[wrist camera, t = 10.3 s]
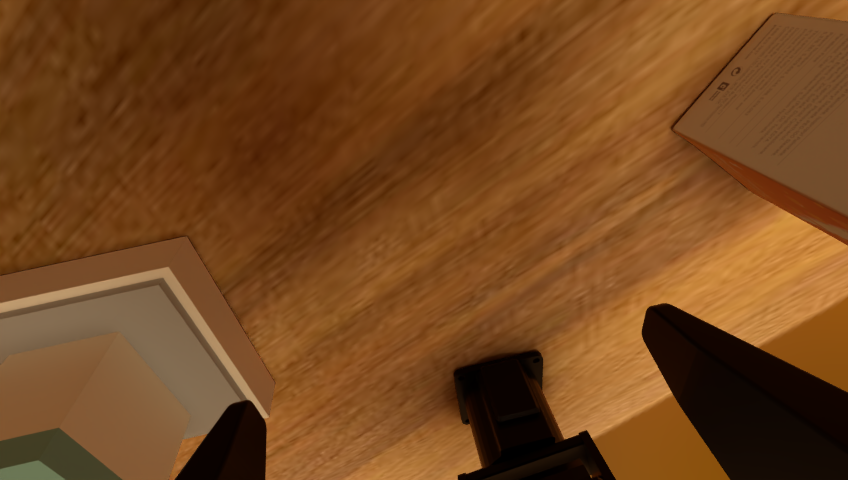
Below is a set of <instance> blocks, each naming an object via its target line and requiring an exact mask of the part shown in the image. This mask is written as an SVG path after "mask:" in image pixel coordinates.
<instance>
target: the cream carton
mask: <svg viewBox="0 0 848 480" xmlns="http://www.w3.org/2000/svg"><path fill="white" fill-rule="evenodd" d="M190 417H191V415H190V414H189V413H188V412H187V410H186V409H185V408H184V407H183V406H182V404H181V403H180V402H179V401H178V400H177V399H176V397H175V396H174V395H173V394H172V393H171V392H170V390H169V389H168V388H167V387H166V386H165V385H164V383H163V382H162V381H161V380H160V379H159V377H158V376H157V375H156V374H155V373H154V372H153V370H152V369H151V368H150V367H149V366H148V365H147V363H146V362H145V361H144V360H143V359H142V357H141V356H140V355H139V354H138V353H137V352H136V350H135V349H134V348H133V347H132V346H131V345H130V343H129V342H128V341H127V340H126V339H125V337H124V336H123V335H122V334H121V333H120V332H114V333H109V334H105V335H100V336H96V337H91V338H86V339H82V340H77V341H73V342H68V343H63V344H59V345H54V346H49V347H45V348H40V349H36V350H31V351H26V352H22V353H17V354H13V355H9V356H8V357H7V358H6V359H5V361H4V362H3V363H2V364H1V365H0V480H169V477H170V474H171V471H172V468H173V465H174V463H175V460H176V457H177V454H178V451H179V448H180V445H181V443H182V440H183V437H184V434H185V431H186V428H187V425H188V422H189V420H190Z"/></svg>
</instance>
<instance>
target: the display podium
mask: <svg viewBox="0 0 848 480" xmlns="http://www.w3.org/2000/svg"><path fill="white" fill-rule="evenodd" d="M114 332H120V333H121V334H122V335H123V336H124V337H125V339H126V340H127V341H128V342H129V343H130V345H131V346H132V347H133V348H134V349H135V350H136V352H137V353H138V354H139V355H140V356H141V357H142V359H143V360H144V361H145V362H146V363H147V365H148V366H149V367H150V368H151V369H152V370H153V372H154V373H155V374H156V375H157V376H158V377H159V379H160V380H161V381H162V382H163V383H164V385H165V386H166V387H167V388H168V389H169V390H170V392H171V393H172V394H173V395H174V396H175V397H176V399H177V400H178V401H179V402H180V403H181V404H182V406H183V407H184V408H185V409H186V410H187V412H188V413H189V414H190V415H191V417H190V420H189V422H188V425H187V428H186V431H185V434H184V437H183V439H187V438H191V437H196V436H200V435H204V434H208V433H209V432H210V430H211V429H212V427H213V426H214V425H215V423H216V422H217V421H218V419H219V418H220V416H221V415H222V414H223V412H224V411H225V410H226V408H227V407H228V406H229V405H230V404H232V403H235V402H239V401H244V400H250V401H252V402H253V404H254V405H255V407H256V408H257V409H258V411H259V412H260V414H261V415H262V417H263V418H268V417H269V415H270V410H271V404H272V398H273V392H274V386H275V382H274V380H273V379H272V377H271V375H270V374H269V372H268V370H267V369H266V367H265V365H264V364H263V362H262V360H261V359H260V357H259V355H258V354H257V352H256V350H255V349H254V347H253V345H252V344H251V342H250V340H249V339H248V337H247V335H246V334H245V332H244V330H243V329H242V327H241V325H240V324H239V322H238V320H237V319H236V317H235V315H234V314H233V312H232V310H231V309H230V307H229V305H228V304H227V302H226V300H225V299H224V297H223V295H222V294H221V292H220V290H219V289H218V287H217V285H216V284H215V282H214V280H213V279H212V277H211V275H210V274H209V272H208V270H207V269H206V267H205V265H204V264H203V262H202V260H201V259H200V257H199V255H198V254H197V252H196V250H195V249H194V247H193V245H192V244H191V242H190V241H189V239H188V237H187V236H185V237H180V238H175V239H171V240H166V241H161V242H157V243H152V244H147V245H143V246H138V247H133V248H128V249H124V250H119V251H114V252H110V253H105V254H100V255H96V256H91V257H86V258H82V259H77V260H72V261H68V262H63V263H58V264H54V265H49V266H44V267H39V268H35V269H30V270H25V271H21V272H16V273H11V274H7V275H2V276H0V365H1V364H2V363H3V362H4V361H5V359H6V358H7V357H8V356H9V355H13V354H17V353H22V352H26V351H31V350H36V349H40V348H45V347H49V346H54V345H59V344H63V343H68V342H73V341H77V340H82V339H86V338H91V337H96V336H100V335H105V334H109V333H114Z"/></svg>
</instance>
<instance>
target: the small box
mask: <svg viewBox="0 0 848 480" xmlns="http://www.w3.org/2000/svg"><path fill="white" fill-rule="evenodd" d="M673 131H674V132H675V133H677V134H678V135H680V136H681V137H683V138H684V139H686V140H687V141H688V142H690V143H691V144H692V145H694V146H695V147H696V148H698V149H699V150H700V151H702V152H703V153H704V154H705V155H707V156H708V157H709V158H710V159H712V160H713V161H714V162H716V163H717V164H718V165H719V166H721V167H722V168H723V169H724V170H725V171H727V172H728V173H729V174H730V175H732V176H733V177H734V178H735V179H736V180H738V181H739V182H740V183H741V184H742V185H744V186H745V187H746V188H747V189H748V190H749V191H751V192H753V193H754V194H756V195H758V196H760V197H761V198H763V199H765V200H767V201H769V202H771V203H773V204H774V205H776V206H778V207H780V208H782V209H783V210H785V211H787V212H789V213H790V214H792V215H794V216H796V217H798V218H799V219H801V220H803V221H805V222H807V223H808V224H810V225H812V226H814V227H816V228H818V229H820V230H822V231H823V232H825V233H827V234H829V235H830V236H832V237H834V238H836V239H837V240H839V241H841V242H843V243H844V244H846V245H848V21H840V20H833V19H825V18H815V17H807V16H796V15H789V14H782V13H775V14H774V15H772V16H771V17H770V18H769V19H768V21H767V22H766V23H765V24H764V25H763V26H762V27H761V28H760V29H759V30H758V32H757V33H756V34H755V35H754V36H753V37H752V38H751V40H750V41H749V42H748V43H747V44H746V45H745V46H744V47H743V48H742V50H741V51H740V52H739V53H738V54H737V55H736V56H735V58H734V59H733V60H732V61H731V62H730V63H729V64H728V65H727V67H726V68H725V69H724V70H723V71H722V72H721V73H720V75H719V76H718V77H717V78H716V79H715V80H714V81H713V82H712V84H711V85H710V86H709V87H708V88H707V89H706V90H705V91H704V93H703V94H702V95H701V96H700V97H699V98H698V99H697V101H696V102H695V103H694V104H693V105H692V106H691V108H690V109H689V110H688V111H687V112H686V113H685V114H684V116H683V117H682V118H681V119H680V120H679V121H678V122H677V124H676V125H675V126H674V128H673Z"/></svg>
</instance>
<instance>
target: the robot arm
mask: <svg viewBox="0 0 848 480" xmlns="http://www.w3.org/2000/svg"><path fill="white" fill-rule="evenodd" d="M642 337H643V340H644V342H645V344H646V346H647V348H648V349H649V351H650V353H651V355H652V357H653V359H654V360H655V362H656V364H657V366H658V368H659V370H660V371H661V373H662V375H663V377H664V379H665V381H666V382H667V384H668V386H669V388H670V390H671V392H672V393H673V395H674V397H675V398H676V400H677V402H678V403H679V405H680V407H681V408H682V410H683V411H684V413H685V414H686V415H687V417H688V418H689V420H690V421H691V423H692V424H693V426H694V427H695V429H696V430H697V432H698V433H699V435H700V436H701V437H702V439H703V440H704V442H705V443H706V445H707V446H708V447H709V449H710V451H711V452H712V453H713V455H714V456H715V458H716V459H717V461H718V462H719V464H720V465H721V467H722V468H723V470H724V471H725V472H726V474H727V475H728V477H729V478H730V480H848V392H846V391H844V390H842V389H840V388H838V387H836V386H834V385H832V384H830V383H828V382H826V381H824V380H822V379H820V378H818V377H815V376H814V375H812V374H810V373H808V372H806V371H803V370H801V369H799V368H797V367H795V366H793V365H791V364H789V363H787V362H785V361H783V360H781V359H779V358H777V357H775V356H773V355H771V354H769V353H767V352H765V351H763V350H761V349H759V348H757V347H755V346H753V345H751V344H749V343H747V342H745V341H743V340H741V339H739V338H737V337H735V336H733V335H731V334H729V333H727V332H725V331H723V330H721V329H719V328H717V327H715V326H713V325H711V324H709V323H707V322H705V321H703V320H701V319H699V318H697V317H695V316H693V315H691V314H689V313H687V312H685V311H683V310H681V309H679V308H677V307H675V306H673V305H670V304H667V303H663V304H658V305H654V306H650V307H649V308H648V309H647V310H646V314H645V319H644V323H643V327H642ZM542 377H543V357H542V355H541V353H540V352H531V353H527V354H522V355H518V356H514V357H510V358H505V359H501V360H497V361H492V362H488V363H484V364H480V365H475V366H471V367H467V368H463V369H459V370H457V371H455V372H454V381H455V386H456V392H457V398H458V403H459V409H460V414H461V419H462V423H463V424H466V425H467V424H470V425H471V429H472V433H473V436H474V440H475V444H476V448H477V451H478V455H479V459H480V462H481V466H482V469H479V470H476V471H474V472H471V473H468V474H466V473H463V474H460V475H458V480H616V479H615V477H614V476H613V474H612V472H611V471H610V469H609V467H608V465H607V464H606V462H605V460H604V459H603V457H602V455H601V454H600V452H599V450H598V448H597V447H596V445H595V443H594V442H593V440H592V438H591V436H590V435H589V433H588V431H587V430H586V431H583V432H580V433H579V435H576V436H574V437H571V438H568V439H565V440H564V437H563V435H562V433H561V431H560V429H559V427H558V424H557V422H556V420H555V418H554V416H553V414H552V411H551V409H550V407H549V405H548V403H547V401H546V398H545V396H544V394H543V392H542ZM266 432H267V431H266V423H265V420H264V418H263V417H262V415H261V414H260V412H259V411H258V409H257V408H256V407H255V405H254V404H253V402H252V401H250V400H244V401H239V402H235V403H232V404H230V405H229V406H228V407H227V408H226V410H225V411H224V412H223V414H222V415H221V416H220V418H219V419H218V421H217V422H216V423H215V425H214V426H213V427H212V429H211V430H210V432H209V433H208V434H207V436H206V437H205V438H204V440H203V441H202V443H201V444H200V445H199V447H198V448H197V450H196V451H195V452H194V454H193V455H192V456H191V458H190V459H189V461H188V462H187V463H186V465H185V466H184V467H183V469H182V470H181V472H180V473H179V474H178V476H177V477H176V478H175V480H265V472H266ZM590 475H592V478H591V477H590Z"/></svg>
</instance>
